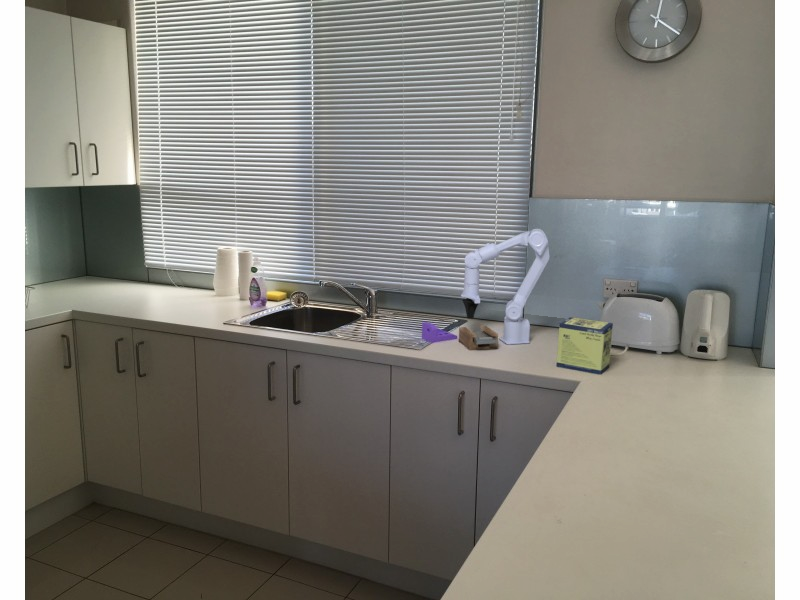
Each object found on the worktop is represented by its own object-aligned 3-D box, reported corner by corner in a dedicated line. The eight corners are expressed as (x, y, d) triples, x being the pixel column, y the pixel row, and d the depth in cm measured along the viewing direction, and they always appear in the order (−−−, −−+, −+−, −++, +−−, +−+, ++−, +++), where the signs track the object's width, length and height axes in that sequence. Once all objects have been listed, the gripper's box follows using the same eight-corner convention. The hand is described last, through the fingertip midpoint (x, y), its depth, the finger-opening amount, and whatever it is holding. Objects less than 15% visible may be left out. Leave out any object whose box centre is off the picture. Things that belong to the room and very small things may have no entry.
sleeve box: (485, 340, 262) (486, 326, 261) (497, 348, 250) (498, 334, 249) (458, 341, 259) (459, 327, 258) (469, 350, 248) (469, 335, 247)
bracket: (431, 343, 257) (432, 326, 255) (421, 339, 262) (422, 322, 261) (457, 339, 263) (457, 322, 261) (446, 335, 269) (447, 318, 267)
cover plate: (485, 334, 258) (485, 329, 257) (497, 343, 247) (497, 338, 246) (465, 335, 256) (465, 330, 256) (476, 344, 245) (476, 339, 244)
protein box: (601, 375, 222) (605, 329, 219) (555, 366, 230) (558, 322, 227) (610, 367, 231) (613, 322, 228) (565, 359, 239) (568, 316, 236)
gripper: (455, 280, 264) (454, 313, 267) (468, 287, 251) (466, 322, 254) (472, 279, 266) (471, 313, 269) (486, 286, 252) (484, 322, 255)
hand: (470, 317), depth 261 cm, fingers closed
